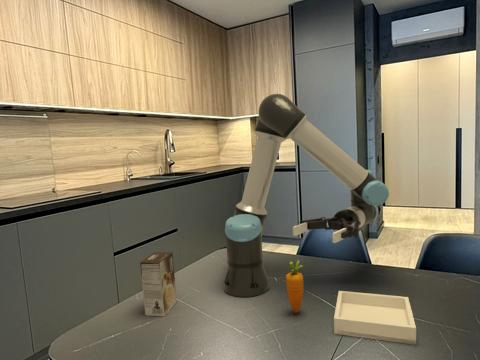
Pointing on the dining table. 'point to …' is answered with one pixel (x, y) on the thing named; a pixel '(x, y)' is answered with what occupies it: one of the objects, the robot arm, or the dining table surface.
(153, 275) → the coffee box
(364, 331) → the tray
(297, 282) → the carrot
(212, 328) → the dining table surface
